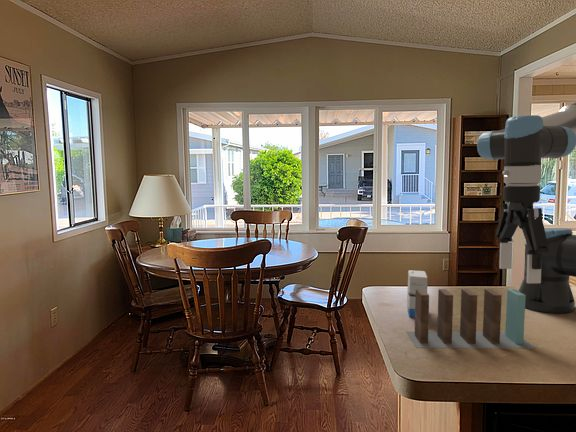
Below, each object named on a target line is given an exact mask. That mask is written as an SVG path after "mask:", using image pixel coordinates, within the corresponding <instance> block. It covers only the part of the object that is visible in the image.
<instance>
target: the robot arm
mask: <svg viewBox="0 0 576 432" xmlns="http://www.w3.org/2000/svg"><path fill="white" fill-rule="evenodd" d="M476 148H477V153H478V155H479V156H480V157H481V158H482V159H484V160H493V161H496V160H504V162H503V164H504V165H503V171H502V173H501V174H502V176H503V183H504V184H506V185H504V186H503V191H502V201H504V203H502V205H501V212H500V213H501V214H500V215H499V216H500V217H499V219H498V225H497V228H496V231H495V238H496V239H498V242H499V262H498V263H499V264H498V265H499V266H498V267H499V269H500V270H503V269H504V270H505V269H506V270H507V269H509V270H510V269H513V266H512V265H513V262H512V261H513V242H514V240H513V237H514V235H515V232H516V231H517V229H518V228H519V229H521V230H522V233H523V236H524V239H525V243H524V266H523V269H524V270H523V279H522V282H521V284H520V286H519V288H518V290H517V291H519V292H521V293H523V294H524V295H526V299H525V309H529V310H533V311H538V312H542V313H552V314H554V313H555V314H562V313H563V314H564V313H571V312H573V311H574V310H575V305H576V302H575V301H576V300H575V297H574V295H573V290H572V288H571V285H570V277H574V278H576V234H573V233H574V232H573V230H572V228H565V227H564V228H545V225H544V221H543V209H542V208H540V207H536V208H534V203H538V202H540V200H541V187H540V185H539V184H540V183H541V179H542V177H541V176H542V159H560V158H563V157H566V156H568V155H570V154H571V153H572V152H573V151H574V150H575V148H576V102H574V103H570V104H568V105H565V106H563V107H562V108H561V109H560V110H559V111H557V112H555V113H551V114H548V115H544V116H540V115H533V114H532V115H531V114H530V115H529V114H527V115H519V116H516V115H515V116H511V117H509V118H507V119H506V121H505V127H504V128H503V129H499V130H498V129H497V130H491V131H485V132H482V134H480V135H479V137H478V139H477V143H476Z"/></svg>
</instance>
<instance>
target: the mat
mask: <svg viewBox="0 0 576 432" xmlns="http://www.w3.org/2000/svg"><path fill="white" fill-rule="evenodd" d="M405 332H406V335H407V336H408V338H409V339H410V341H411V342H412V344H413V346H414V348H415V349H419V348H420V349H426V348H427V349H536V347H535V346H534V345H533V344H531V343H530V342H529V341H527V340H526V339H525V338H524V339H523V344H515V343H514V342H512V341H511V340H510V339H509V338H508V337H506V336H505V331H500V344H491V343H490V342H489V341H488V340H487V339H486V338H485V337H484V336H483V331H476V344H468V343H467V342H466V341H465V340H464V339H463V338H462V337H461V336H460V331H452V344H444V343H443V342H442V341H441V339H440V338H439V337H438V336H437V331H428V344H420V342H419V341H418V339H417V338H416V336H415V331H405Z"/></svg>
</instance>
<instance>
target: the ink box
mask: <svg viewBox="0 0 576 432" xmlns="http://www.w3.org/2000/svg"><path fill="white" fill-rule="evenodd" d="M407 276H408V277H407V297H406V299H407V300H406V301H407V302H406V310H407V313H408V317H409V318H415V297H416V289H424V290H425V291H426V292H427V293H428V275H427V273H426V271H424V270H414V269H413V270H411V269H409V270H408V272H407Z"/></svg>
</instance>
